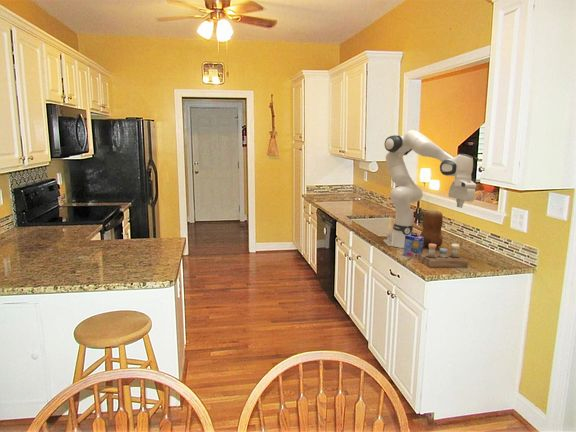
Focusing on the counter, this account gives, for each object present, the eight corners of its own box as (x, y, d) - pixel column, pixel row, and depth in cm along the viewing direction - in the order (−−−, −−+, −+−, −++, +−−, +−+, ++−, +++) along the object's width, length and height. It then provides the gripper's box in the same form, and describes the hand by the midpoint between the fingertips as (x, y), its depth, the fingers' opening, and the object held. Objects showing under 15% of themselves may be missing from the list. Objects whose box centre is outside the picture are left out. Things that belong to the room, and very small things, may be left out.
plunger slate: (437, 260, 243) (438, 247, 241) (443, 260, 243) (444, 247, 242) (440, 262, 239) (442, 249, 238) (447, 262, 240) (448, 249, 238)
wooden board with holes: (417, 260, 246) (418, 253, 245) (452, 260, 250) (453, 253, 250) (430, 267, 232) (431, 260, 232) (467, 267, 237) (467, 260, 236)
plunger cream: (448, 255, 244) (450, 243, 242) (455, 255, 244) (456, 243, 243) (452, 257, 240) (454, 245, 239) (459, 257, 241) (460, 245, 239)
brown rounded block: (438, 246, 285) (442, 209, 280) (443, 251, 272) (448, 212, 267) (417, 245, 286) (420, 207, 282) (421, 249, 273) (425, 210, 269)
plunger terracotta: (426, 255, 241) (427, 243, 240) (432, 255, 242) (434, 243, 240) (429, 257, 237) (431, 245, 236) (436, 257, 238) (437, 245, 237)
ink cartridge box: (402, 255, 257) (405, 231, 254) (406, 253, 261) (409, 230, 259) (418, 258, 251) (421, 234, 248) (422, 257, 255) (425, 233, 253)
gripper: (447, 181, 253) (444, 204, 256) (468, 184, 234) (465, 210, 236) (456, 181, 255) (454, 204, 257) (478, 185, 235) (475, 210, 237)
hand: (459, 207), depth 246 cm, fingers closed
